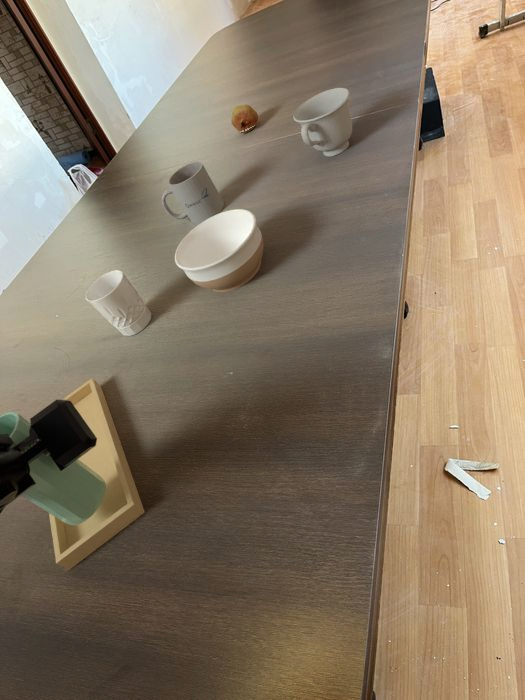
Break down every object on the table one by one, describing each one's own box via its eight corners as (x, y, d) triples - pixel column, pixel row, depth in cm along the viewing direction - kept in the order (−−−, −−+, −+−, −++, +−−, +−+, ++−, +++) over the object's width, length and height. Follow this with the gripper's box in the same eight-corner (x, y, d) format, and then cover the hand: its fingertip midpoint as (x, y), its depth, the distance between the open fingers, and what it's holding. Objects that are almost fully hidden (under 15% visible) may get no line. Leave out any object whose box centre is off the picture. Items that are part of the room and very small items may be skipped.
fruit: (226, 109, 136) (225, 122, 128) (246, 92, 133) (245, 105, 125) (242, 129, 139) (242, 143, 132) (261, 113, 136) (262, 126, 129)
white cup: (161, 309, 93) (130, 269, 86) (138, 340, 89) (104, 301, 82) (134, 307, 97) (103, 270, 91) (111, 337, 94) (77, 300, 87)
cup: (111, 498, 61) (21, 432, 52) (67, 536, 60) (-32, 476, 51) (99, 466, 67) (15, 401, 57) (59, 501, 66) (-33, 440, 57)
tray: (145, 512, 62) (134, 504, 61) (69, 570, 61) (56, 563, 60) (101, 385, 85) (92, 377, 83) (44, 426, 84) (34, 419, 82)
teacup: (294, 176, 105) (276, 133, 99) (324, 136, 112) (308, 93, 105) (344, 171, 98) (327, 124, 91) (372, 129, 104) (359, 82, 98)
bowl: (215, 248, 99) (195, 216, 94) (285, 237, 91) (267, 201, 86) (183, 306, 90) (159, 274, 85) (257, 298, 82) (236, 262, 77)
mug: (226, 195, 113) (205, 156, 107) (221, 216, 108) (198, 176, 101) (181, 212, 118) (158, 175, 111) (173, 233, 112) (149, 196, 106)
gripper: (3, 352, 46) (67, 365, 61) (-172, 475, 44) (-60, 457, 60) (71, 449, 45) (119, 438, 60) (-105, 579, 43) (-10, 533, 59)
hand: (41, 464), depth 60 cm, fingers closed on cup, 7 cm apart
